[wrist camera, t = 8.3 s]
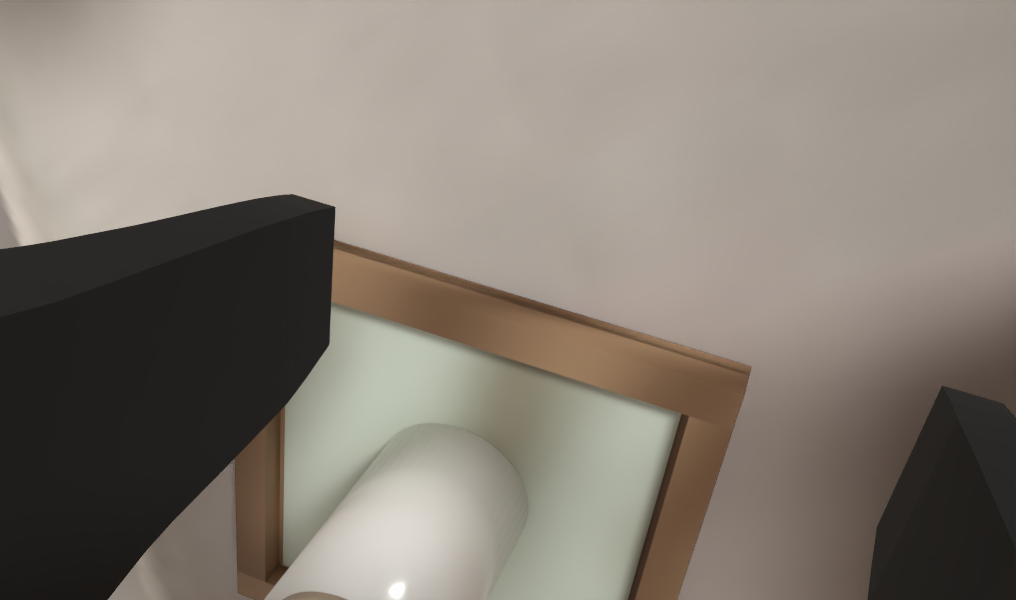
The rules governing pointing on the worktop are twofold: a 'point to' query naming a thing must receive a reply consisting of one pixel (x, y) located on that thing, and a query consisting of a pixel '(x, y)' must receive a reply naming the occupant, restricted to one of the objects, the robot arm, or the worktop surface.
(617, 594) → the rest tray
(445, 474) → the salt cellar
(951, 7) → the worktop surface
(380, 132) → the worktop surface
